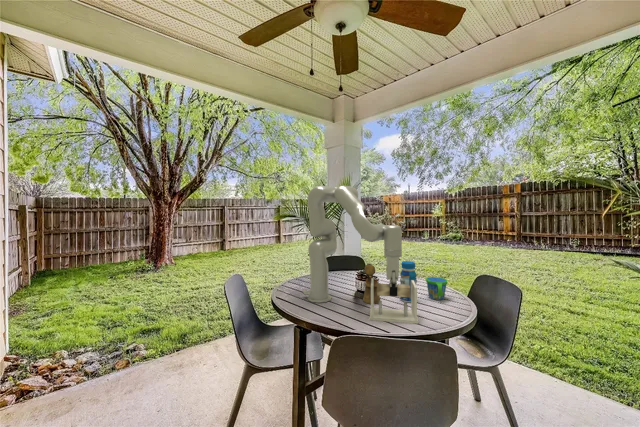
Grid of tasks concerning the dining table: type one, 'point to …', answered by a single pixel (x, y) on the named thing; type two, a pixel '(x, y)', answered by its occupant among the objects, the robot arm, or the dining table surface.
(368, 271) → the wooden mug
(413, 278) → the beverage bottle
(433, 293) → the snack cup
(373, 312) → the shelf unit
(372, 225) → the robot arm
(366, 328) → the dining table surface
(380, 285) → the tan wooden block
